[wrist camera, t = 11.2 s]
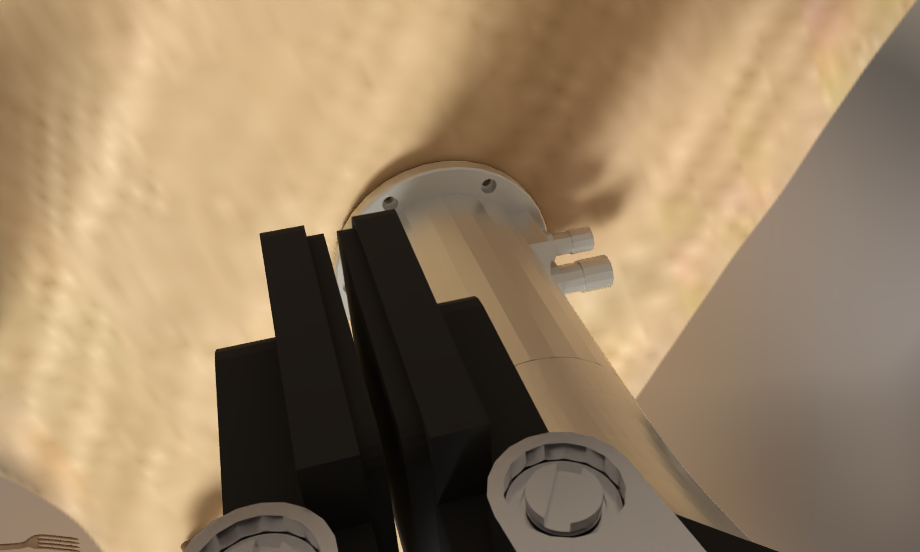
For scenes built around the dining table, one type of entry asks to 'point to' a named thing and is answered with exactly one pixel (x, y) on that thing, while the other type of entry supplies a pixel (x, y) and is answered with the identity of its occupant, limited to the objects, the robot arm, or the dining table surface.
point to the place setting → (34, 543)
